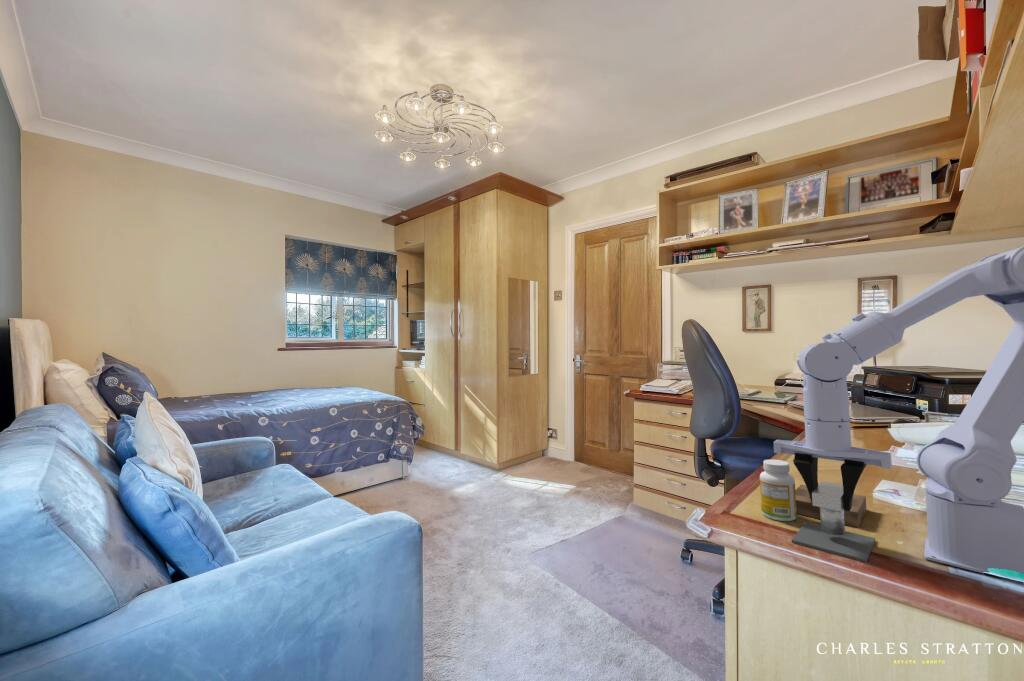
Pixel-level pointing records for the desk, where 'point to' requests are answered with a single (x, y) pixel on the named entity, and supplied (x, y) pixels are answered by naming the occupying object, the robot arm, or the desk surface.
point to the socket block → (809, 510)
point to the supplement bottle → (777, 491)
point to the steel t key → (830, 507)
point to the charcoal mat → (835, 542)
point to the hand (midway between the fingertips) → (831, 505)
